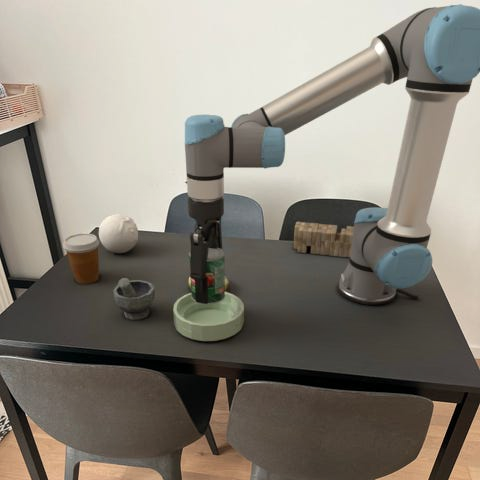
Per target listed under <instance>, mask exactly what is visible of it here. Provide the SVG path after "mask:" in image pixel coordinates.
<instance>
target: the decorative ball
mask: <svg viewBox="0 0 480 480" xmlns="http://www.w3.org/2000/svg"><path fill="white" fill-rule="evenodd" d="M98 237H99V242H100V243H101V245H102V246H103V247H104V248H105V249H106V250H107V251H109V252H111V253H114V254H124V253H128V252H129V251H131V250H132V249H133V248H134V247H135V246H136V244H137V243H138V239H139V229H138V226H137V224H136V222H135V221H134V220H133V218H132V217H130V216H127V215H124V214H119V213H118V214H111V215H109V216H106V218H104V219H103V220H102V221H101V223H100V225H99V228H98Z"/></svg>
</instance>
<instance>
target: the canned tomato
mask: <svg viewBox="0 0 480 480" xmlns="http://www.w3.org/2000/svg"><path fill="white" fill-rule="evenodd" d="M188 255H189V268H190V267H191V250H189V252H188ZM225 255H226V254H225V250H223V248H222V249H221V248H218V247H217V249H214V248H209V250H208V260H207V269H206V276H208V303H207V304H216V303H219V302H221V301H222V300H223V299H224V298H225V292H226V291H225V277H226V276H225V273H226V271H225V269H226V267H225V265H226V264H225ZM190 293H191V297H192V299H193V300H194V301H195V302H196V296H195V279H192V278H191V288H190ZM197 303H198V302H197ZM200 304H204V303H200Z"/></svg>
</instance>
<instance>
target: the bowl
mask: <svg viewBox="0 0 480 480" xmlns="http://www.w3.org/2000/svg"><path fill="white" fill-rule="evenodd" d="M172 314H173V326H174V328H175V330H176V331H177V332H178V333H179V334H180V335H182V337H185V338H188V339H191V340H195V341H201V342H217V341H220V340H226V339H228V338H230V337H233V336H235V335H236V334H238V333H239V332H240V331H241V330H242V328H243V327H244V325H245V324H244V323H245V304H244V302H243V301H242V300H241V298H239V296H236V295H235V294H233V293H230V292H228V291H225V298H224V299H223V300H222V301H221V302H219V303H216V304H200V303H197V302H195V301H194V300H193V299H192V297H191V292H189V293H186V294H185V295H182V296H181V297H179V298H178V299H177V300H176V301H175V303H173V309H172Z"/></svg>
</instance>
